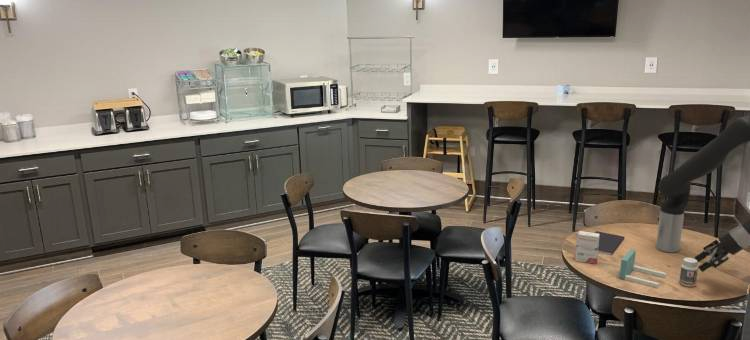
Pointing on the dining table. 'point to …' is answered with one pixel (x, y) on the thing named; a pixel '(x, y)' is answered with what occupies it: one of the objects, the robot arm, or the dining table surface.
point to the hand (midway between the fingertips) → (697, 264)
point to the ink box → (587, 247)
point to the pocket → (628, 266)
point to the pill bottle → (688, 272)
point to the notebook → (609, 242)
